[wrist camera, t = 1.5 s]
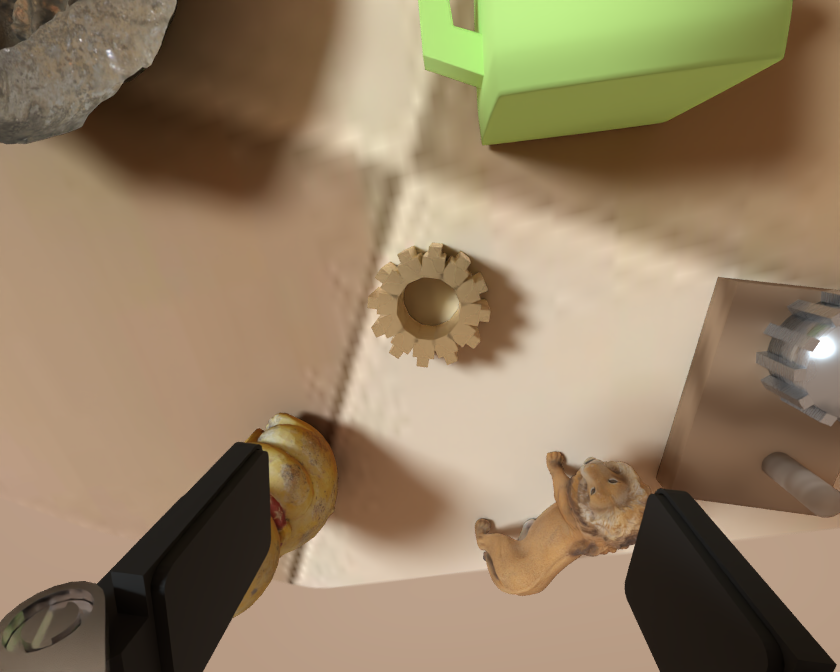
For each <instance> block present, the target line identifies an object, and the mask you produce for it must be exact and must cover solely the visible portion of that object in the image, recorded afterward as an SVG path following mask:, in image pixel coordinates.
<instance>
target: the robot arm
mask: <svg viewBox="0 0 840 672" xmlns="http://www.w3.org/2000/svg"><path fill="white" fill-rule="evenodd" d="M270 544H271V515H270V480H269V454H268V452H267V451H263V449H262V446H261V445H260V444H253V443H244V442H236V443H235V444H234V445H233V446H232V447H231V448H230V449H229V450H228V451H227V452H226V453H225V454H224V455H223V456H222V457H221V458H220V459H219V460H218V461H217V462H216V463H215V464H214V465H213V466H212V467H211V468H210V469H209V471H208V472H207V473H206V474H205V475H204V476H203V477H202V478H201V479H200V480H199V481H198V482H197V483H196V484H195V485H194V486H193V487H192V488H191V489H190V490H189V491H188V492H187V493H186V494H185V495H184V496H183V497H181V498H180V499H179V500H178V501H177V502H176V503H175V504H174V505H173V506H172V507H171V508H170V509H169V510H168V511H167V512H166V513H165V515H164V516H163V517H162V518H161V519H160V520H159V521H158V522H157V523H156V524H155V525H154V526H153V527H152V528H151V529H150V530H149V531H148V532H147V533H146V534H145V535H144V536H143V537H142V538H141V539H140V540H139V541H138V542H137V543H136V545H134V546H133V547H132V548H131V549H130V550H129V552H128V553H127V554H126V555H125V556H124V557H123V558H122V559H121V560H120V561H119V562H118V563H117V564H116V565H115V566H114V567H113V568H112V569H111V570H110V571H109V572H108V573H107V574H106V575H105V576H104V577H103V578H102V579H101V580H100V581H99V582H98V583H97V584H95V583H90V582H86V581H79V582H69V583H65V584H61V585H57V586H54V587H52V588H49V589H47V590H44V591H42V592H40V593H37V594H36V595H34V596H32V597H31V598H29V599H27V600H26V601H24V602H22V603H21V604H19V605H18V606H17V607H16V608H14V609H13V610H12V611H11V612H10V613H8V614H7V615H6V616H5V617H4V618H3V619H2V620H1V622H0V672H203V670H204V669H205V667H206V665H207V663H208V661H209V660H210V658H211V656H212V654H213V652H214V650H215V649H216V647H217V645H218V643H219V641H220V639H221V638H222V636H223V634H224V632H225V630H226V629H227V627H228V625H229V623H230V621H231V620H232V618H233V616H234V614H235V612H236V611H237V609H238V607H239V605H240V603H241V601H242V600H243V598H244V596H245V594H246V592H247V591H248V589H249V587H250V585H251V583H252V582H253V580H254V578H255V576H256V574H257V572H258V571H259V569H260V567H261V565H262V563H263V562H264V560H265V558H266V556H267V554H268V551H269V548H270ZM625 594H626V598H627V601H628V603H629V605H630V607H631V609H632V612H633V614H634V616H635V618H636V620H637V622H638V625H639V627H640V629H641V631H642V633H643V635H644V638H645V640H646V642H647V644H648V646H649V649H650V651H651V653H652V655H653V657H654V660H655V662H656V664H657V666H658V668H659V670H660V672H833V671H834V669H835V667H836V663H835V662H834V661H833V660H832V659H831V658H830V656H829V655H828V654H827V653H826V652H825V651H824V649H823V648H822V647H821V646H820V645H819V644H818V643H817V641H816V640H815V639H814V638H813V637H812V636H811V634H810V633H809V632H808V631H807V630H806V629H805V627H804V626H803V625H802V624H801V623H800V622H799V621H798V620H797V618H796V617H795V616H794V615H793V614H792V612H791V611H790V610H789V609H788V608H787V607H786V605H785V604H784V603H783V602H782V601H781V600H780V598H779V597H778V596H777V595H776V594H775V593H774V591H773V590H772V589H771V588H770V587H769V586H768V585H767V583H766V582H765V581H764V580H763V579H762V578H761V576H760V575H759V574H758V573H757V572H756V571H755V569H754V568H753V567H752V566H751V565H750V564H749V563H748V561H747V560H746V559H745V558H744V557H743V556H742V554H741V553H740V552H739V551H738V550H737V549H736V547H735V546H734V545H733V544H732V543H731V542H730V540H729V539H728V538H727V537H726V536H725V535H724V534H723V532H722V531H721V530H720V529H719V528H718V527H717V525H716V524H715V523H714V522H713V521H712V520H711V518H710V517H709V516H708V515H707V514H706V513H705V511H704V510H703V509H702V508H701V507H700V506H699V505H698V503H697V502H696V501H695V500H694V499H693V498H692V496H691V495H690V494H689V493H687V492H686V491H680V490H671V489H662V488H660V489H658V490H657V491H656V492H655V494H650V495H649V496H648V499H647V502H646V506H645V509H644V513H643V517H642V521H641V524H640V528H639V532H638V535H637V539H636V543H635V547H634V550H633V554H632V558H631V562H630V565H629V569H628V573H627V576H626V580H625Z"/></svg>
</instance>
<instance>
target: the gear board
mask: <svg viewBox="0 0 840 672" xmlns="http://www.w3.org/2000/svg"><path fill="white" fill-rule="evenodd" d="M827 290H832V289H823V288H813V287H804V286H795V285H786V284H777V283H768V282H759V281H749V280H740V279H731V278H722V277H718V279H717V282H716V285H715V289H714V292H713V295H712V298H711V302H710V305H709V308H708V311H707V315H706V318H705V321H704V324H703V328H702V331H701V334H700V337H699V341H698V344H697V347H696V350H695V354H694V357H693V360H692V363H691V367H690V370H689V373H688V376H687V380H686V383H685V386H684V389H683V392H682V396H681V399H680V402H679V405H678V409H677V412H676V415H675V418H674V422H673V425H672V428H671V431H670V435H669V438H668V441H667V444H666V448H665V451H664V454H663V457H662V461H661V464H660V467H659V470H658V474H657V477H656V479H657V480H658V482H659V483H660V484H661V485H662V487H663V488H664V489H671V490H680V491H686V492H687V493H689V494H690V495H691V496H692V498H693V499H696V500H704V501H711V502H719V503H726V504H733V505H741V506H748V507H755V508H763V509H770V510H777V511H785V512H792V513H799V514H807V515H814V516H819V517H832V516H835V515H837V514H838V513H840V492H839V491H838V490H836V489H835V488H833V485H834V482H835V480H836V478H837V476H838V474H839V471H840V422H839V421H837V420H836V421H835V422H834V423H833V425H832V426H829V425H826V424H823V423H821V422H819V421H817V420H815V419H814V418H812V417H810V416H808V415H806V414H805V413H803V412H801V411H799V410H798V409H796V408H794V407H792V406H791V405H789V404H787V403H785V402H783V401H782V400H780V399H781V397H780V396H779V395H777V394H775V393H773V392H771V391H770V390H768V389H766V388H765V387H764V385H763V384H762V382H761V381H760V380H761V379H763V378H765V377H766V376H768V375H770V374H769V371H768V369H767V368H765V367H763V366H761V365H759V364H757V363H756V352H764V351H767V350H768V346H769V343H770V341H771V339H772V336H769V335H767V334H764V331H765V330H766V328H767V327H768V325H769V324H770V323H772V324H775V325H778V326H780V325H781V324H782V323H783V322H784V321H785V320H786V319H787V318H788V317H790V316H791V315H792V314H791V312H790V311H789V309H788V308H787V306H789V305H790V304H792V303H794V302H795V301H797V300H803V301H807V302H811V303H817V302H821V291H827Z"/></svg>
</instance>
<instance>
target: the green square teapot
mask: <svg viewBox="0 0 840 672" xmlns="http://www.w3.org/2000/svg"><path fill="white" fill-rule="evenodd" d="M418 3H419V15H420V26H421V37H422V49H423V58H424V65H425V70H428V71H431V72H434V73H437V74H440V75H443V76H446V77H449V78H451V79H454V80H457V81H460V82H463V83H466V84H469V85H472V86H475V87H477V103H478V117H479V126H480V134H481V141H482V145H491V144H500V143H508V142H517V141H525V140H533V139H542V138H550V137H558V136H566V135H574V134H582V133H590V132H597V131H605V130H612V129H620V128H628V127H635V126H642V125H650V124H657V123H663V122H666V121H668V120H670V119H672V118H674V117H676V116H678V115H680V114H682V113H684V112H686V111H687V110H689V109H691V108H693V107H695V106H697V105H699V104H701V103H703V102H704V101H706V100H708V99H710V98H712V97H714V96H716V95H718V94H720V93H721V92H723V91H725V90H727V89H729V88H731V87H733V86H734V85H736V84H738V83H740V82H742V81H744V80H746V79H747V78H749V77H751V76H753V75H755V74H757V73H759V72H760V71H762V70H764V69H766V68H768V67H770V66H771V65H773V64H775V63H777V62H779V61H780V60H782V59H783V58H784V54H785V49H786V44H787V38H788V32H789V26H790V20H791V13H792V4H793V0H474V25H475V32H473V31H470V30H466V29H463V28H459V27H456V26H453V21H452V15H451V9H450V3H449V0H418Z"/></svg>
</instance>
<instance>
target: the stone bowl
mask: <svg viewBox="0 0 840 672" xmlns="http://www.w3.org/2000/svg"><path fill="white" fill-rule="evenodd" d="M177 2H178V0H0V142H1V143H4V144H16V143H19V144H27V143H31V142H35V141H39V140H43V139H47V138H50V137H53V136H57V135H62V134H65V133H68V132H71V131H73V130H76V129H78V128H80V127H82V126H83V124H84V122H85V120H86V119H87V117H88V115H89V114H90V113H91V112H92V111H93V110H94V109H95V108H96V107H97V106H98V105H99V104H100V103H101V102H103V101H104V100H106V99H108V98H110V97H112V96H113V95H114V94H115V93H116V92H117V91H118V90H119V88H120V87H121V85H122V84H123V83H124V82H128V81H130V80H132V79H134V78H135V77H137V76H138V75H139V74H140V73H141V72H143V71H144V70H145V69H146V68H148V67H149V66H150V65H151V64H152V62H153V60H154V58H155V56H156V54H157V53H158V51H159V50H160V49H161V47H162V42H163V39H164V36H165V34H166V31H167V29H168V27H169V25H170V23H171V22H172V19H173V16H174V14H175V12H176V8H177Z"/></svg>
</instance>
